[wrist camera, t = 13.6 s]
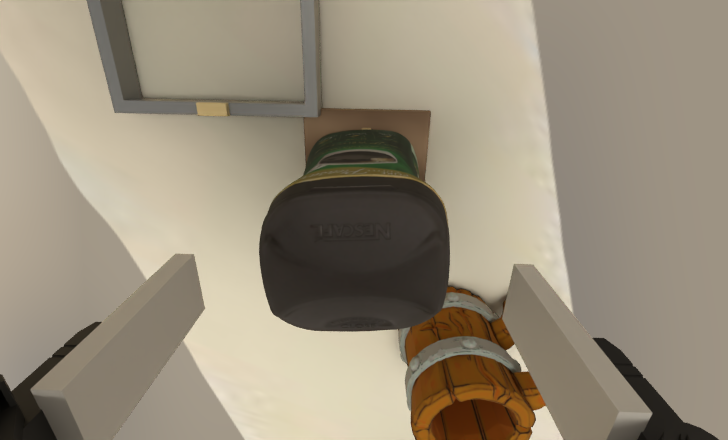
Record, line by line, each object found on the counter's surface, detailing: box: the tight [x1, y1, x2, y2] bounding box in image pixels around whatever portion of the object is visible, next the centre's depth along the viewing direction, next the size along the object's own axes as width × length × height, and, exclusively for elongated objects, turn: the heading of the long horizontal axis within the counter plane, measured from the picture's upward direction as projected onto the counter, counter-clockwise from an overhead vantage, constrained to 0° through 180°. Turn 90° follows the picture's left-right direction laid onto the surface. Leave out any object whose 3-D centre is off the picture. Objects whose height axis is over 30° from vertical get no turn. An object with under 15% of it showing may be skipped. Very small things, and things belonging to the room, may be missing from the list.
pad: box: [304, 108, 431, 182], centre depth 33 cm, size 11×11×1 cm
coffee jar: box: [259, 129, 450, 331], centre depth 24 cm, size 10×8×19 cm
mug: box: [399, 287, 546, 440], centre depth 32 cm, size 11×16×15 cm, turn 119°
